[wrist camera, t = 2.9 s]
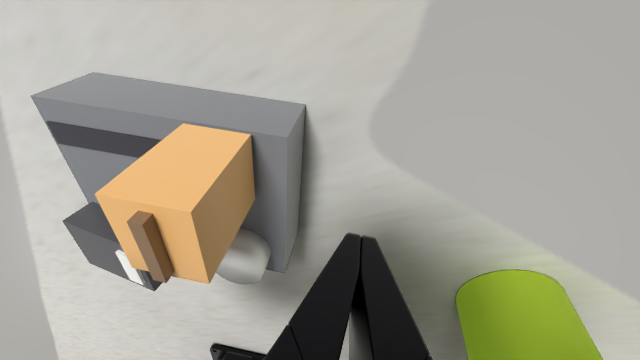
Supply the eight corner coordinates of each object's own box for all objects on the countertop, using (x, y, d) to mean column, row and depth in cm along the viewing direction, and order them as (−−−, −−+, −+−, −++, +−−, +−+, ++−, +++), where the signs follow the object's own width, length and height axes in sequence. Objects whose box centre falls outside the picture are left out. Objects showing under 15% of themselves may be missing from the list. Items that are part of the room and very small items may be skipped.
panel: (298, 230, 17) (278, 294, 14) (143, 201, 18) (89, 254, 15) (305, 104, 12) (277, 155, 9) (93, 72, 13) (-3, 108, 10)
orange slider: (255, 199, 12) (202, 295, 8) (197, 188, 12) (122, 279, 9) (250, 134, 10) (181, 224, 7) (183, 123, 10) (81, 204, 7)
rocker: (175, 268, 15) (152, 293, 13) (114, 242, 16) (86, 265, 14) (161, 227, 13) (132, 253, 12) (92, 201, 14) (58, 223, 12)
